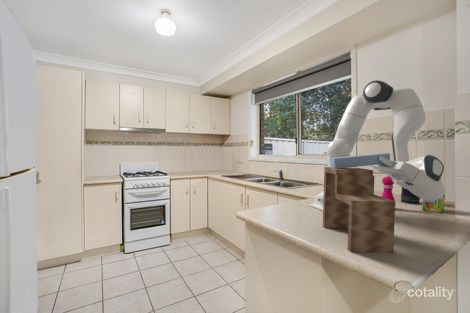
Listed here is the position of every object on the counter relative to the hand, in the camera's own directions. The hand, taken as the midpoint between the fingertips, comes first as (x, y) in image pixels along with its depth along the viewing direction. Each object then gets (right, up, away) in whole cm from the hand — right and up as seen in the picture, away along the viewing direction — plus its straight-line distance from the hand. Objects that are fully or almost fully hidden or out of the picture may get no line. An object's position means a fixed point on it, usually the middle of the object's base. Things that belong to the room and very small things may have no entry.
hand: (375, 157), depth 94 cm
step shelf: (-12, -31, -5) cm, 33 cm away
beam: (-6, -3, 0) cm, 7 cm away
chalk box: (+55, -30, +37) cm, 73 cm away
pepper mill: (+31, -30, +40) cm, 59 cm away
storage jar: (+57, -30, +56) cm, 85 cm away
